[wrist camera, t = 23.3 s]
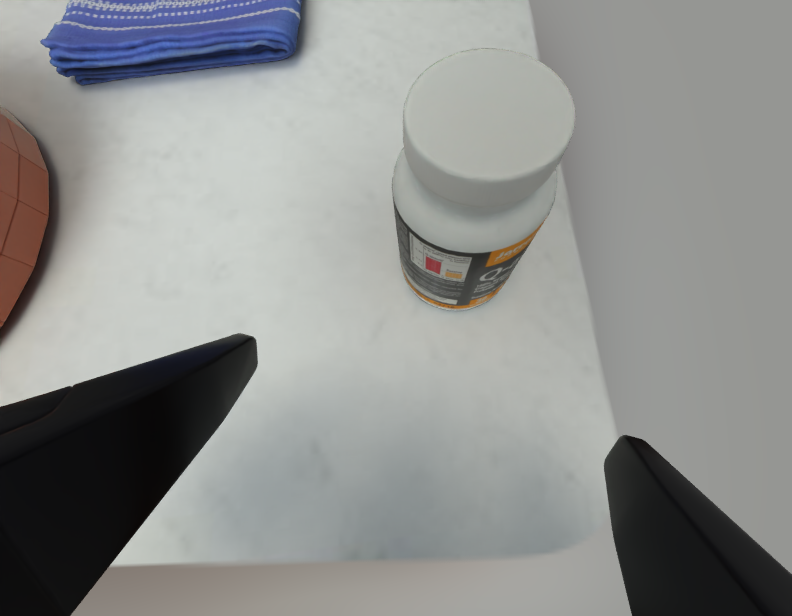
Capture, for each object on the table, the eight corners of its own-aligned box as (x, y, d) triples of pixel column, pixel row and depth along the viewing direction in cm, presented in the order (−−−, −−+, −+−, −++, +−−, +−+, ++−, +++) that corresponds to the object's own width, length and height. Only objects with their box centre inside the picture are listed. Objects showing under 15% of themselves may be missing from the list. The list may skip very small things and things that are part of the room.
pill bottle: (488, 329, 18) (570, 229, 8) (385, 291, 19) (350, 163, 9) (519, 235, 19) (620, 58, 10) (422, 205, 20) (426, 16, 10)
